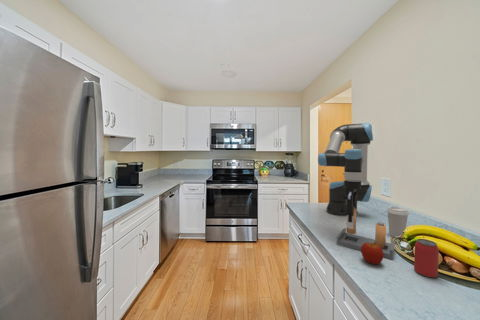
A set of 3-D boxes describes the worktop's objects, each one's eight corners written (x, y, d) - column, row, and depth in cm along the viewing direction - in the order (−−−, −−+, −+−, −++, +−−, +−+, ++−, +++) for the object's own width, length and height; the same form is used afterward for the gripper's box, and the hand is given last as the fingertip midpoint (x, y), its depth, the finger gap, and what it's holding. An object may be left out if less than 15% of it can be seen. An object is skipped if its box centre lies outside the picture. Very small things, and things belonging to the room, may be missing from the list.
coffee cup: (402, 233, 112) (403, 206, 111) (412, 241, 103) (413, 212, 102) (382, 231, 115) (383, 205, 114) (390, 238, 105) (391, 210, 105)
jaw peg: (356, 232, 101) (357, 206, 100) (354, 234, 98) (355, 208, 97) (347, 230, 103) (348, 205, 103) (345, 232, 100) (346, 207, 100)
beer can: (413, 273, 76) (414, 241, 75) (414, 266, 81) (415, 236, 80) (437, 281, 71) (438, 247, 71) (437, 273, 76) (439, 242, 75)
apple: (372, 269, 79) (373, 249, 78) (356, 258, 86) (356, 240, 86) (387, 265, 81) (388, 246, 80) (370, 256, 88) (370, 238, 88)
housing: (343, 235, 109) (344, 212, 109) (394, 248, 95) (395, 221, 94) (336, 244, 99) (337, 218, 99) (392, 259, 85) (393, 230, 84)
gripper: (348, 178, 108) (347, 220, 109) (339, 181, 96) (338, 230, 96) (364, 179, 104) (363, 224, 105) (357, 183, 91) (356, 234, 92)
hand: (351, 226), depth 100 cm, fingers closed on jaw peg, 4 cm apart
